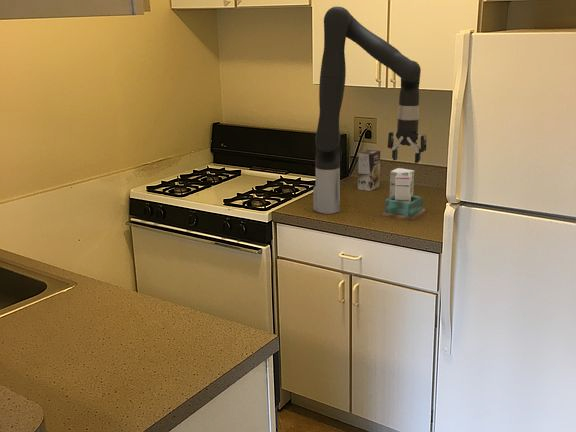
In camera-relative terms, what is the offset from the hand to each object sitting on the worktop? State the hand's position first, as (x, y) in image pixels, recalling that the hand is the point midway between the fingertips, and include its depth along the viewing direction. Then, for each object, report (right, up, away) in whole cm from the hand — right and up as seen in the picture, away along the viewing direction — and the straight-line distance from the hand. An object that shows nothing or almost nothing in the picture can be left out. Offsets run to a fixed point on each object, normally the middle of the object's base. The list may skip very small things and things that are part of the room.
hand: (405, 161), depth 236 cm
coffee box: (-8, -8, +42) cm, 44 cm away
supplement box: (+2, -14, +23) cm, 27 cm away
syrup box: (0, -19, +6) cm, 20 cm away
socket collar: (0, -19, +6) cm, 20 cm away
